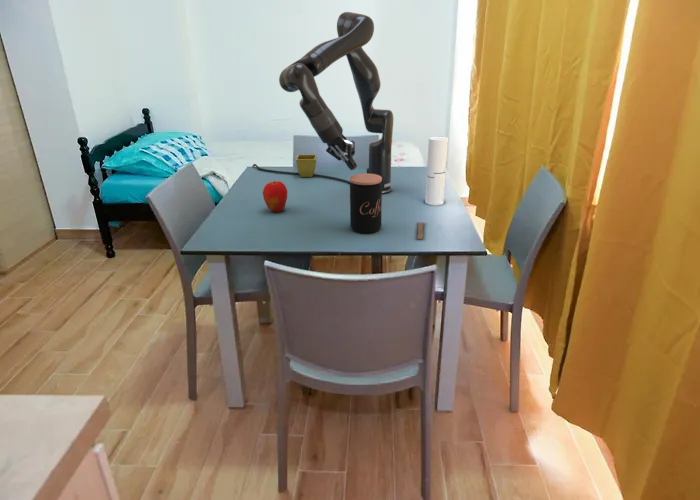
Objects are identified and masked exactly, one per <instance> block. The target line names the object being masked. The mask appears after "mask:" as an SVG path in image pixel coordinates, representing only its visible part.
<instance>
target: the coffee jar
mask: <svg viewBox="0 0 700 500" xmlns="http://www.w3.org/2000/svg"><path fill="white" fill-rule="evenodd" d="M349 181H350V182H351V184H349V210H350V211H349V212H350V213H349V220H350V221H349V223H350V225H349V226H350V228H351V229H352V231H353V232H354V233H358V234H363V235H364V234H366V235H368V234H374V233H377V232H379V230H380V229H381V227H382V207H383V204H382V203H383V202H382V201H383V200H382V199H383V193H382V185H381V183H380V182H381V181H382V177H381V176H379V175H376V174H369V173H367V172H364V173H356V174H353V175H351V176H350V177H349Z"/></svg>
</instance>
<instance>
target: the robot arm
mask: <svg viewBox="0 0 700 500" xmlns="http://www.w3.org/2000/svg"><path fill="white" fill-rule="evenodd" d="M374 32H375V23H374V20H373V19H372V18H371V16H369V15H366V14H362V13H358V12H357V13H356V12H352V11H344V12H342V13H340V14H339V16H338V18H337V21H336V33H337V37H335V38H332V39H329V40H326V41H324V42H321V43H319V44H317V45H315V46H314V47H312V48H311V49H310V50H309V51H307V52H306V53H305V54H304V55H303V56H301V58H298V60H296V61H295V62H292V63H291V64H290V65H288V66H287V67H285V68H284V69H283V70H282V71H281V72H280V74H279V77H278V83H279V86H280V87H281V89H282V90H284V91H285V92H287V93H295V92H300V95H301V98H300V100H299V107H300V108H301V110H302V111H303V114H304V115H305V116H306V118H307V119H308V121H309V123H310V126H311V127H312V128H313V130H314V131H315V133H316V134H317V136H318V137H319V139H320V140H321V142H322V143H323V144H326V145H327V148H326V149H325V152H326V153H327V154H329V155H330V156H332V157H333V158H334V159H336V160H337V161H342V162H343V163H345V165H346V166H347V168H348V169H349V170H350V171H354V170H356V169H357V167H358V165H357V163H356V160H354V158H353V157H354V156H355V154H356V143H355V141H354V140H351V141H350V140H348V138H347V137H346V136H345V135H344V133H343V131H344V129H343V127H342V126H341V124H340V122H339V121H338V119H337V117H336V116H335V114H334V113H333V111H332V109H330V108H329V107H328V105H327V103H326V101H325V100H324V99H323V97H322V95H321V94H320V91H319V88H318V86H317V82H316V79H315V77H317V76H319V75H320V74H322V73H323V72H324V71H326V70H327V69H328V68H329V67H330V66H331V65H333V64H334V63H335V62H337V61H339V60H341V59H342V58H343V57H346V59H347V62H348V66H349V69H350V71H351V75H352V80H353V82H354V86H355V89H356V92H357V95H358V99H359V102H360V107H361V112H362V117H363V122H364V127H365V130H366V131H367V132H368V133H371V134H372V133H373V134H381V137H380V138H379V139H376V140H373V141H370V142H369V144H368V167H367V168H366V173H369V174H376V175H379V176H381V177H382V181H381V182H380V183H381V185H382V194H387V193H390V192H391V191H392V188H391V186H392V181H391V180H392V145H393V130H394V113H393V111H392V110H390V109H381V108H379V109H378V108H374V105H373V103H374V101H375V99H376V98H377V96H378V94H379V92H380V89H381V78H380V73H379V70H378V67H377V66H376V64H375V62H374V61H373V59H371V57H370V56H369V55H368V54H367V52H366V51H365V50H364V48H363V47H364V46H366V45H367V44H368V43H369V42H370V41H371V40H372V38H373V36H374V34H375V33H374ZM251 167H252V168H256V169H257V170H259V171H262V172H269V173H277V174H284V175H285V174H286V175H298V176H300V174H299V172H294V171H283V170H273V169H268V168H267V169H266V168H261V167H259V165H257V164H256V163H253V164H252V166H251ZM312 177H319V178H325V179H330V180H336V181H340V182H344V183H347V184H349V185H350V184H351V182H350V180H347V179H343V178H339V177H335V176H330V175H323V174H316V173H314V174H313V176H312Z"/></svg>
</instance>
